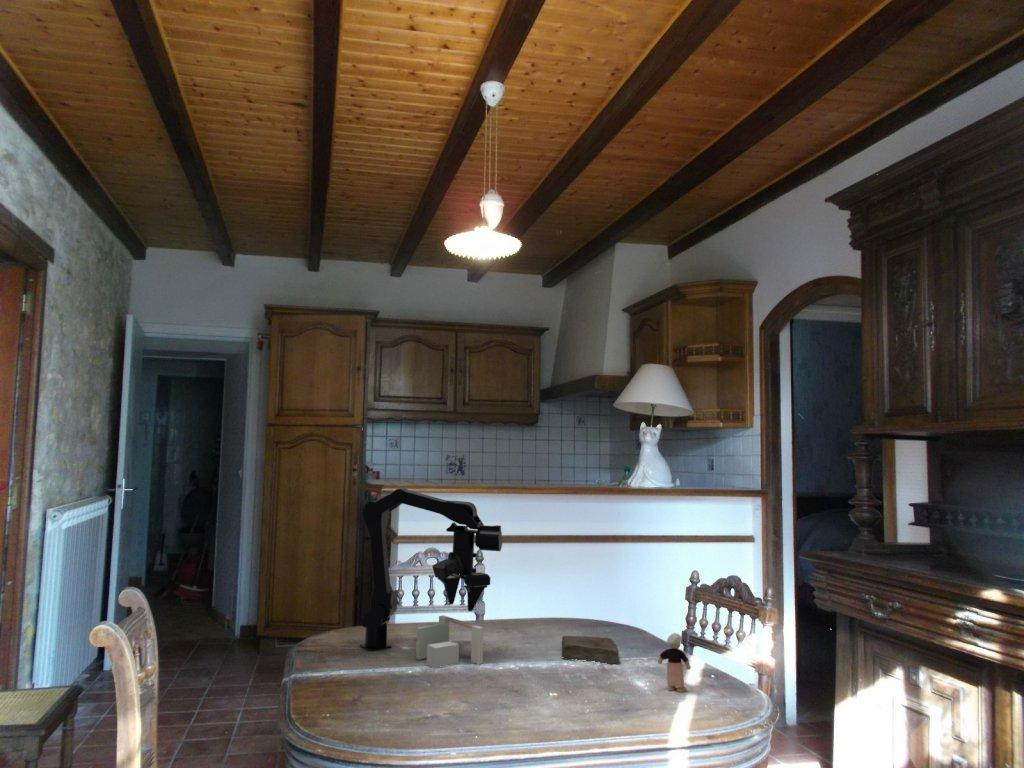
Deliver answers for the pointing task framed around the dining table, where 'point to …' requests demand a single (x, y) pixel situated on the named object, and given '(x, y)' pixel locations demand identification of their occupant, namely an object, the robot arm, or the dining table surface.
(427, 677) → the dining table surface
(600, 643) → the brown stone slab
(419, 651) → the door
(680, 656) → the grandmother figurine
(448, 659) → the block
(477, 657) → the wall frame
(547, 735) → the dining table surface
